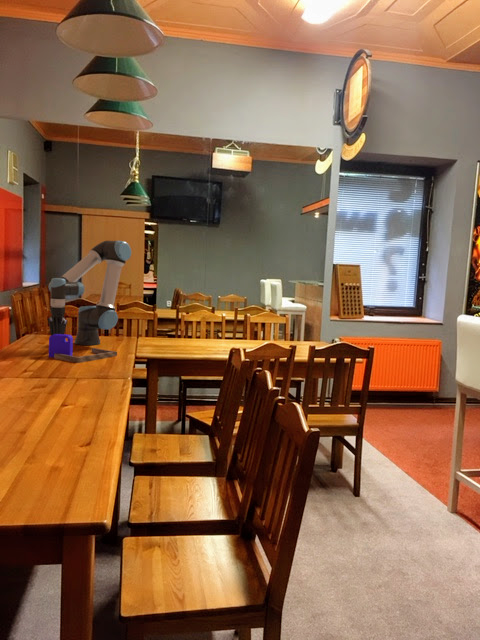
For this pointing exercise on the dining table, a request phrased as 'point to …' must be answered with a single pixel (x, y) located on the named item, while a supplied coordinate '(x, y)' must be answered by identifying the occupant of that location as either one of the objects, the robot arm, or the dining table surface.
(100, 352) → the handle
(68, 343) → the bracket
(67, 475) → the dining table surface
